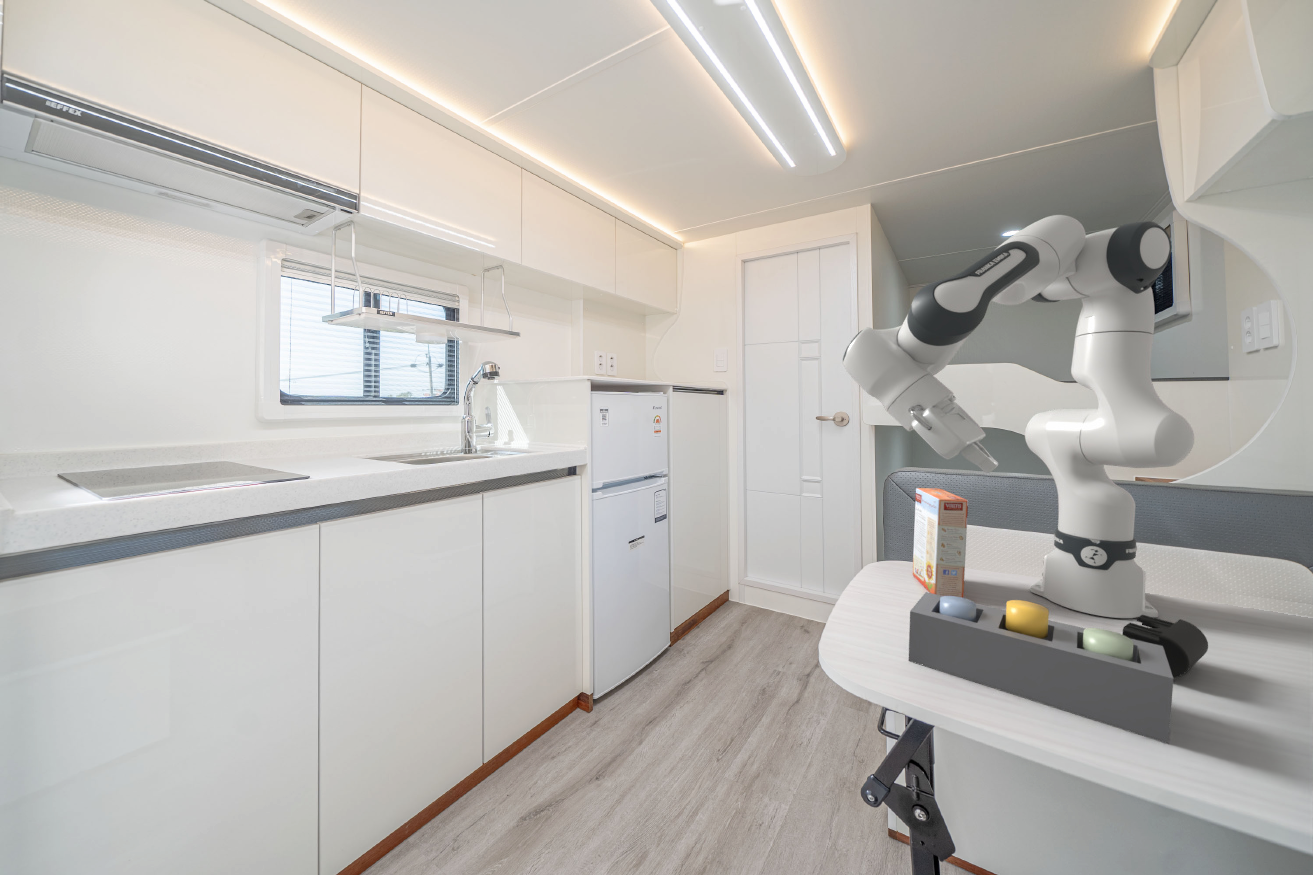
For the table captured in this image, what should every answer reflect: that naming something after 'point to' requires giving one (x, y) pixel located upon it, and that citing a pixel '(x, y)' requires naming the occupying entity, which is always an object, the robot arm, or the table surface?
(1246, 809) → the table surface
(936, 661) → the button console
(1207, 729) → the table surface
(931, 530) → the cracker box
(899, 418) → the robot arm
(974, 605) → the slate button
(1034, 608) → the amber button
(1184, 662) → the end cap
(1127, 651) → the sage button
